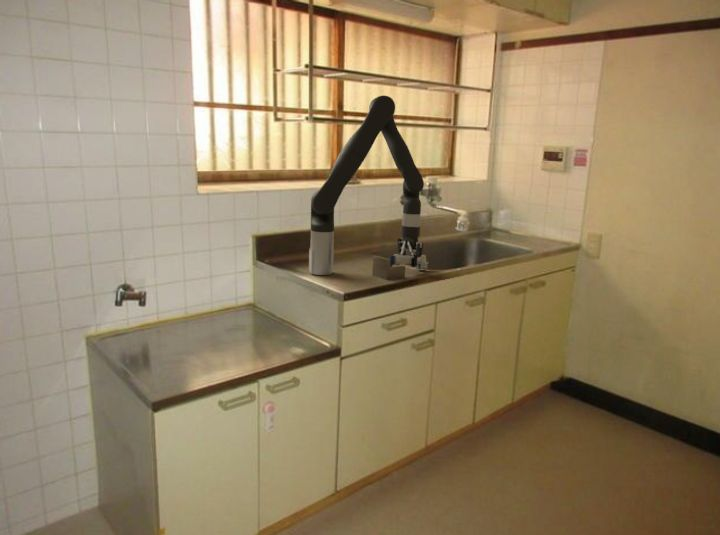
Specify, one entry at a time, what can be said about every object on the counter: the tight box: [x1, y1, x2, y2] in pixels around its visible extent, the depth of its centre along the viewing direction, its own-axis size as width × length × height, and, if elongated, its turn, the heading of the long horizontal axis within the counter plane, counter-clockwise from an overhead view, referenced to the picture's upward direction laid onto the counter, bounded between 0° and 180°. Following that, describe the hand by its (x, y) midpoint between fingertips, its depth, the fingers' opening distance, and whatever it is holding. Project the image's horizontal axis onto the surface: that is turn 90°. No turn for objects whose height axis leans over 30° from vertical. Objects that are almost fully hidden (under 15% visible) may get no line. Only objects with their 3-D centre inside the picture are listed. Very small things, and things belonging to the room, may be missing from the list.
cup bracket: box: [371, 255, 406, 281], centre depth 214 cm, size 9×9×8 cm
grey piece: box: [387, 253, 429, 270], centre depth 220 cm, size 5×7×25 cm
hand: (408, 265), depth 220 cm, fingers closed on grey piece, 5 cm apart
